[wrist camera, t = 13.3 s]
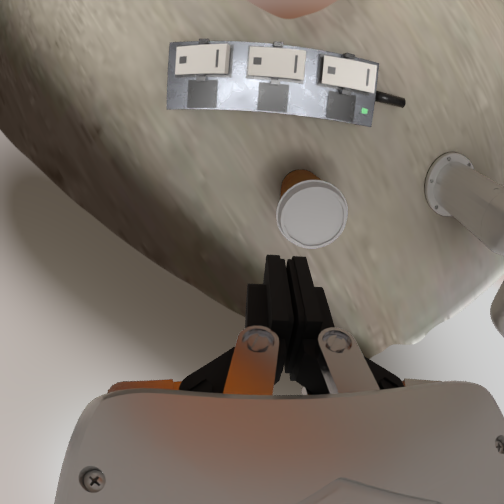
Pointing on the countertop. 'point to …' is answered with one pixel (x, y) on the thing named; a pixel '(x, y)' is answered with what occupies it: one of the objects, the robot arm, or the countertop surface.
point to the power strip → (272, 88)
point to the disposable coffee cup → (310, 210)
